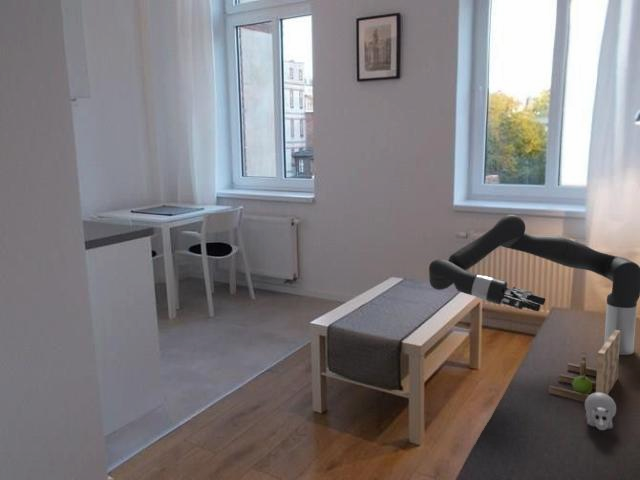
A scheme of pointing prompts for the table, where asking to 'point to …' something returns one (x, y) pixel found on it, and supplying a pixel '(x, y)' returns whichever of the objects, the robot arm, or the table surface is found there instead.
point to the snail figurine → (582, 379)
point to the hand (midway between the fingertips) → (542, 304)
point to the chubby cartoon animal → (600, 410)
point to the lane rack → (595, 371)
